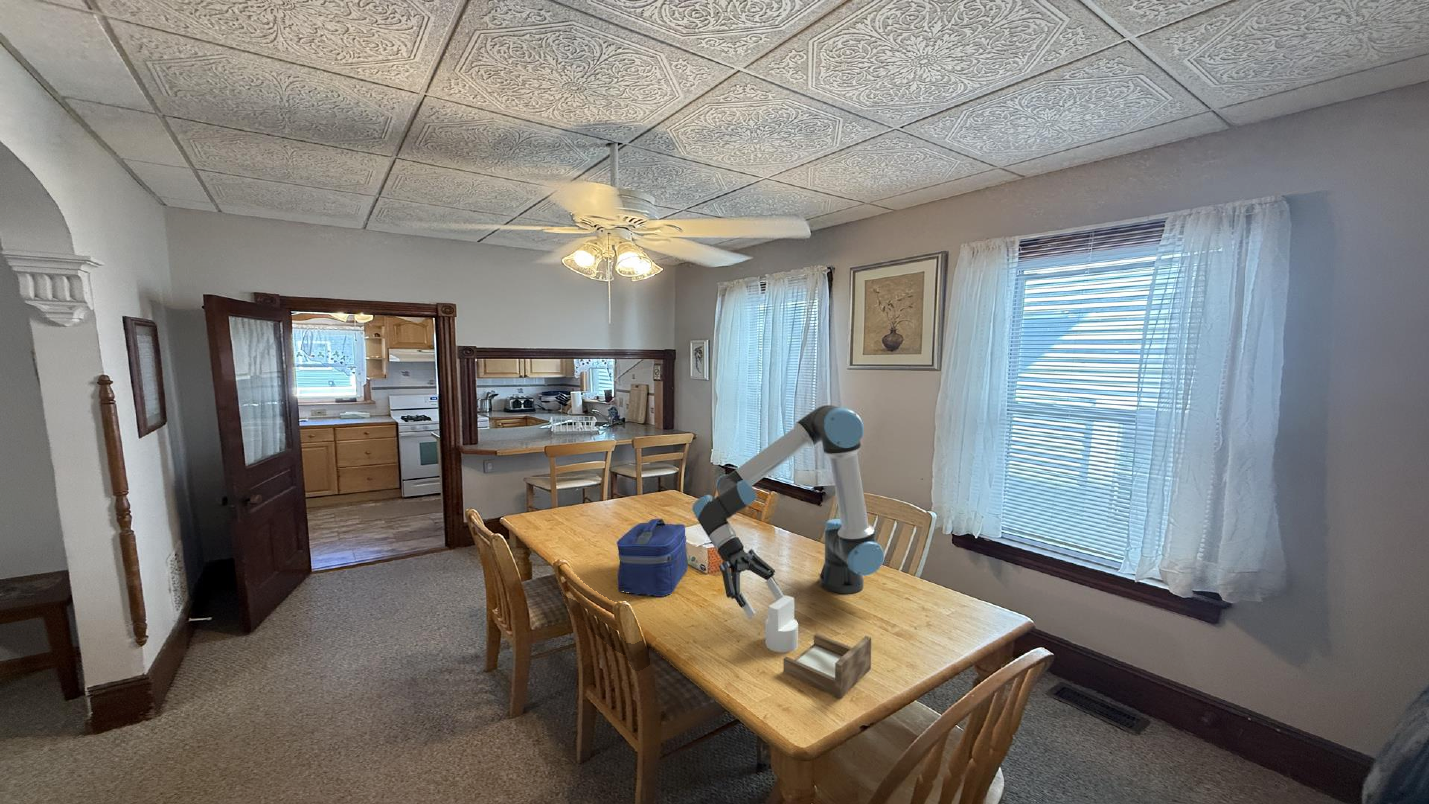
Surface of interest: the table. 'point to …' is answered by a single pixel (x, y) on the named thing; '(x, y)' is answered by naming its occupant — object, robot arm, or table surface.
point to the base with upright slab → (782, 626)
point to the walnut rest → (831, 665)
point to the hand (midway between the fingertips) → (767, 607)
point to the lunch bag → (652, 558)
